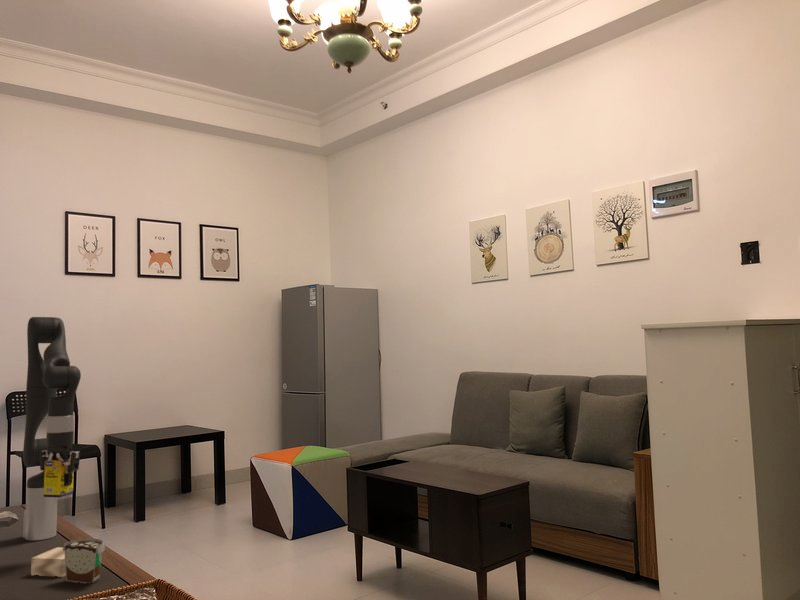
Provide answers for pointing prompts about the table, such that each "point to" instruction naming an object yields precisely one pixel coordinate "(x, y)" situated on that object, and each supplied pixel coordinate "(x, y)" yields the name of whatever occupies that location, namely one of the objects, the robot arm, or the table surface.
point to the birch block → (49, 563)
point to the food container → (83, 560)
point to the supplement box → (56, 479)
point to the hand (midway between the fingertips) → (58, 484)
